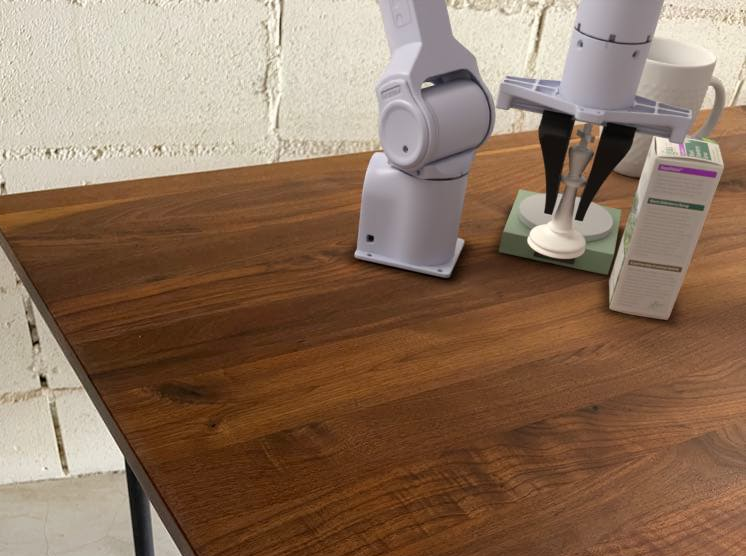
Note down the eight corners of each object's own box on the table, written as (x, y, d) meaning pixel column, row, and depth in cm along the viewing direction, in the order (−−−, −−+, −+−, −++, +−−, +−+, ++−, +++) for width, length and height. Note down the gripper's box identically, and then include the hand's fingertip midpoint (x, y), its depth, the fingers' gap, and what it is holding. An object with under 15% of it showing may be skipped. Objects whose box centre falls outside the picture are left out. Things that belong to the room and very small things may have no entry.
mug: (678, 148, 114) (717, 36, 104) (722, 185, 106) (768, 67, 97) (572, 149, 110) (602, 33, 101) (609, 187, 103) (645, 65, 94)
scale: (497, 253, 89) (503, 226, 87) (515, 208, 97) (521, 182, 95) (607, 277, 87) (616, 249, 85) (615, 229, 95) (623, 203, 93)
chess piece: (549, 263, 73) (583, 139, 66) (516, 236, 76) (544, 115, 69) (596, 254, 75) (633, 133, 68) (561, 228, 78) (593, 110, 71)
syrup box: (669, 321, 82) (730, 164, 72) (605, 310, 82) (657, 153, 72) (666, 292, 86) (723, 139, 76) (605, 281, 87) (653, 128, 76)
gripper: (505, 28, 63) (470, 213, 72) (714, 66, 60) (648, 252, 70) (521, 4, 67) (486, 180, 77) (715, 38, 65) (653, 216, 75)
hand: (564, 212), depth 74 cm, fingers closed on chess piece
